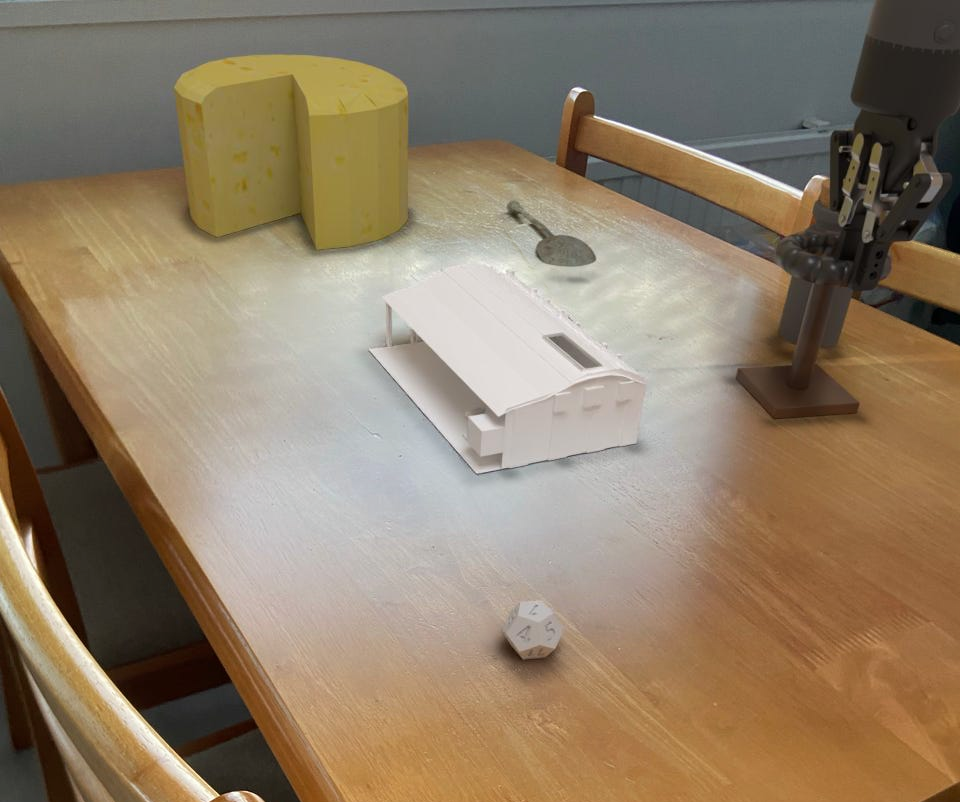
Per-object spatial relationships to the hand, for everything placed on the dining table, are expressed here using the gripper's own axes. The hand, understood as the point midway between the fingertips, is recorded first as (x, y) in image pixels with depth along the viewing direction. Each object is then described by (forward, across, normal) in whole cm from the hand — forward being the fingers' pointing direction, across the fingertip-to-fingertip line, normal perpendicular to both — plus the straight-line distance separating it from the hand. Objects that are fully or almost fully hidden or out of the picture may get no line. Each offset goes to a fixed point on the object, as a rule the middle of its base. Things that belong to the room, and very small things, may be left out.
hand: (852, 281), depth 81 cm
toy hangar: (+12, +8, +27) cm, 31 cm away
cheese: (+12, +58, +39) cm, 71 cm away
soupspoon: (+12, +45, +12) cm, 48 cm away
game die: (+12, -26, +33) cm, 44 cm away
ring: (-1, +4, 0) cm, 4 cm away
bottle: (+12, +14, -6) cm, 19 cm away
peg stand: (+12, +4, 0) cm, 12 cm away
